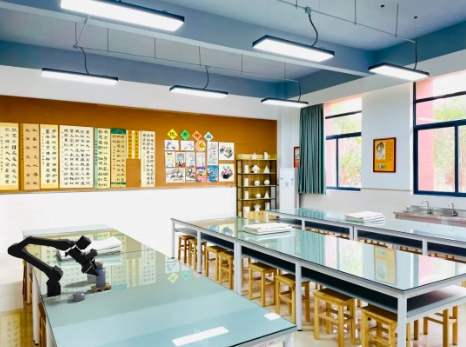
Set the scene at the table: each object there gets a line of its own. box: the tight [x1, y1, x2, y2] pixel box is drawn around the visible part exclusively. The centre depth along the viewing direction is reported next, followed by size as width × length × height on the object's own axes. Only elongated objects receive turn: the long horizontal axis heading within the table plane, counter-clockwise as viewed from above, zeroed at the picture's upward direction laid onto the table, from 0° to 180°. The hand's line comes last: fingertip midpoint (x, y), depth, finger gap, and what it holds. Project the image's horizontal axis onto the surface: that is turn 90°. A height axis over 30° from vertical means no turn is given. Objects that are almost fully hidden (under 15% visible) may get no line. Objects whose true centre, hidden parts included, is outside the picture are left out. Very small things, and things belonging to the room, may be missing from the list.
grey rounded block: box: [72, 291, 86, 303], centre depth 189 cm, size 6×6×3 cm
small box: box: [86, 258, 103, 283], centre depth 220 cm, size 8×6×13 cm
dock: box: [90, 282, 113, 294], centre depth 204 cm, size 10×7×2 cm
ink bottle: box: [95, 260, 107, 288], centre depth 204 cm, size 5×5×14 cm
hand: (99, 273), depth 204 cm, fingers open, 9 cm apart
